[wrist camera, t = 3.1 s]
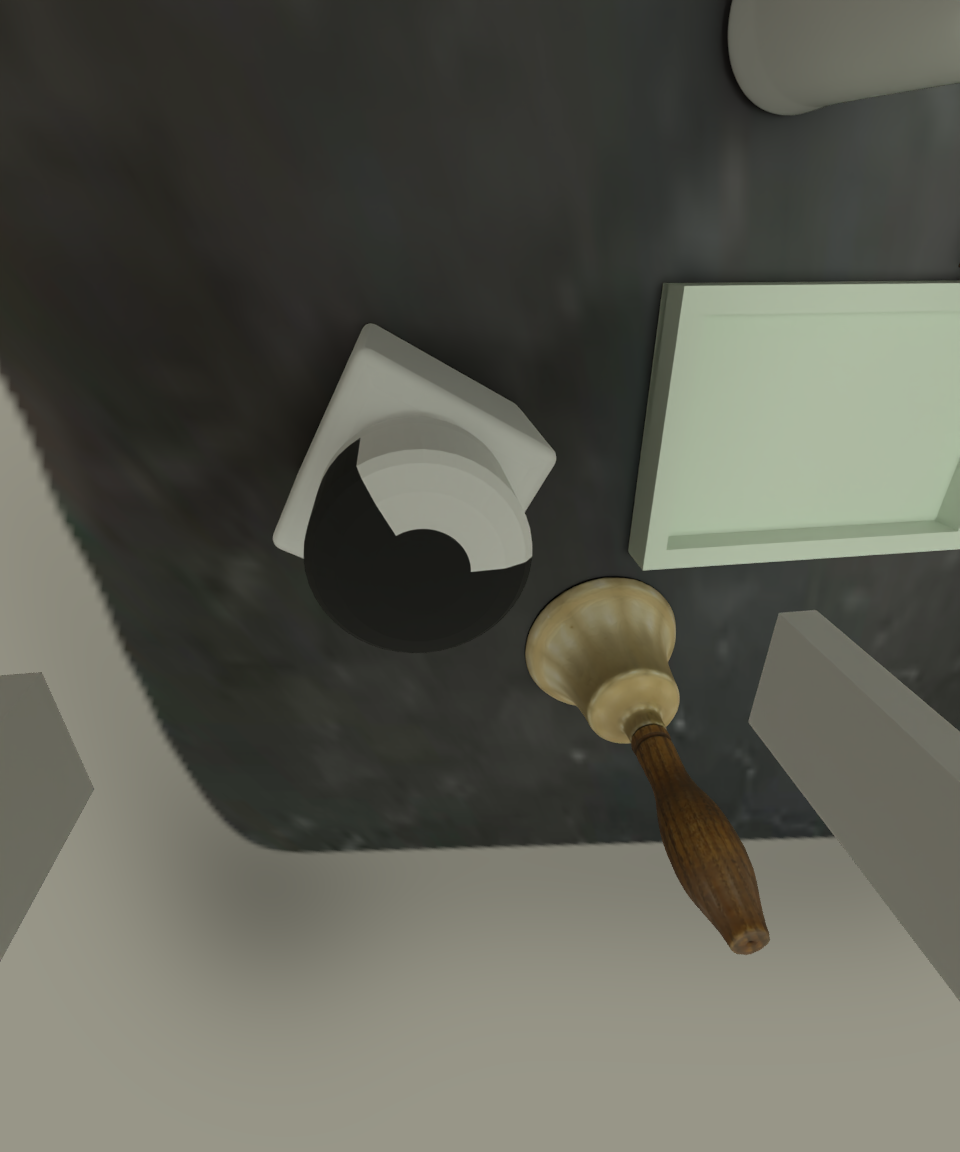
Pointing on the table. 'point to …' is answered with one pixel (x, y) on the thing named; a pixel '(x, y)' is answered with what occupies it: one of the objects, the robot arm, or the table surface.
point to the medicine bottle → (415, 500)
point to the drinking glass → (840, 50)
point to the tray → (800, 423)
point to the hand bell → (647, 734)
